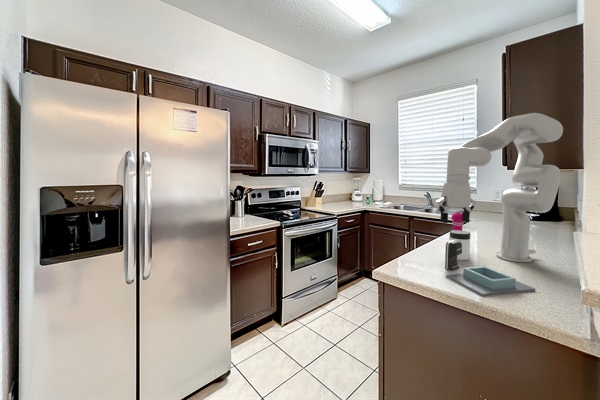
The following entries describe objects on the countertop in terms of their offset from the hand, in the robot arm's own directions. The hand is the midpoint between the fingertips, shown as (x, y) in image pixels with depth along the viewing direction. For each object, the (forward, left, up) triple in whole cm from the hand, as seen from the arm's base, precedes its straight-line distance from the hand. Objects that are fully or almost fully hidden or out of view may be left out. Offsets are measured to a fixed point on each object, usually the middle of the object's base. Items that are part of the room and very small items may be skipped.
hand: (454, 222), depth 104 cm
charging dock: (-1, +15, -19) cm, 24 cm away
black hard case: (0, 0, -20) cm, 20 cm away
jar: (-13, -12, -20) cm, 27 cm away
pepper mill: (-24, -26, -20) cm, 41 cm away
